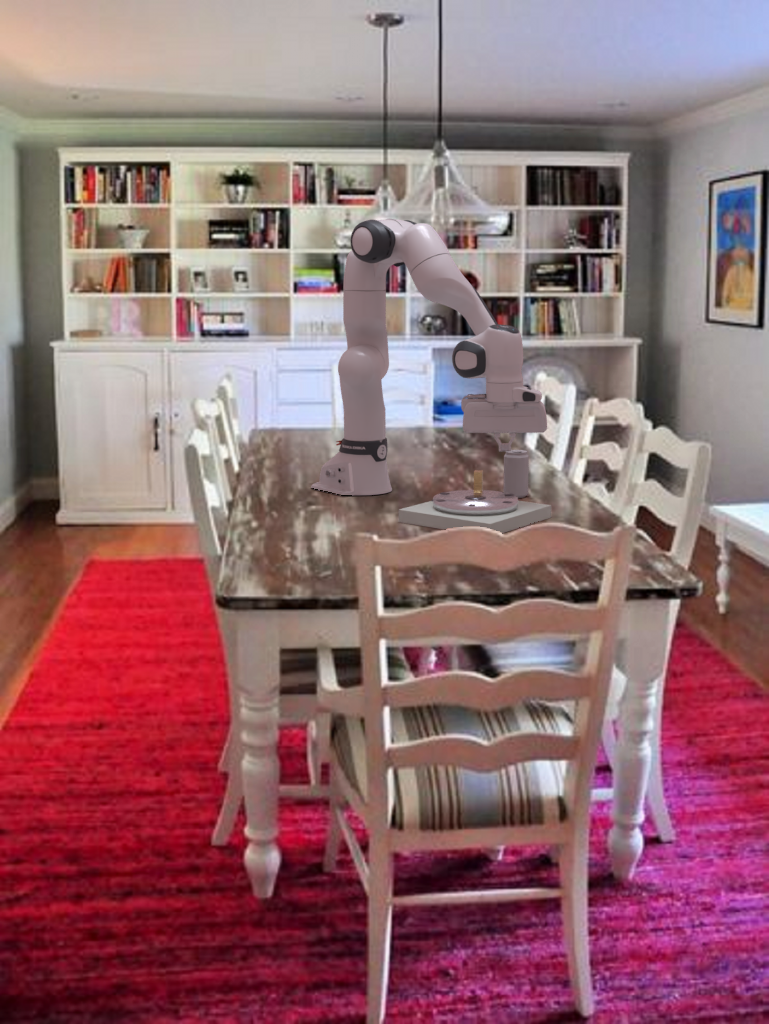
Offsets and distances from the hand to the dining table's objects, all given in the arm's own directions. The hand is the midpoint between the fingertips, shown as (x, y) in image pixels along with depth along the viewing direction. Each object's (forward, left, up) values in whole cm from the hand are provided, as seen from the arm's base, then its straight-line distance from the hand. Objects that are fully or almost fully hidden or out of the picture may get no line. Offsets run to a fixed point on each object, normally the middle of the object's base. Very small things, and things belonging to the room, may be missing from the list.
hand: (505, 451), depth 291 cm
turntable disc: (-2, -10, -12) cm, 16 cm away
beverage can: (-10, +20, -16) cm, 27 cm away
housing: (-2, -10, -15) cm, 18 cm away
